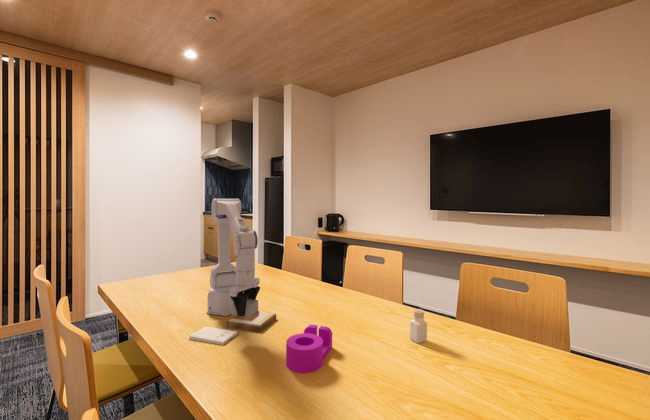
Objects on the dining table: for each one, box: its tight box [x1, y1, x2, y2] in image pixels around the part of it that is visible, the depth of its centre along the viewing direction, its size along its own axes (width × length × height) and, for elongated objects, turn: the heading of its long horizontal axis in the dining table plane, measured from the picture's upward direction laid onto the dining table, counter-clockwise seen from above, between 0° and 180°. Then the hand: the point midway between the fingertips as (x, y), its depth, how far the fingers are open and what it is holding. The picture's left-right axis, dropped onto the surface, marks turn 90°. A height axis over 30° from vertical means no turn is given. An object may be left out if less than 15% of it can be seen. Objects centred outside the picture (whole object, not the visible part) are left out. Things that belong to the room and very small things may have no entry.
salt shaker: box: [409, 308, 428, 344], centre depth 101 cm, size 4×4×10 cm
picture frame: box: [225, 311, 277, 333], centre depth 114 cm, size 13×12×2 cm
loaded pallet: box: [231, 299, 260, 321], centre depth 100 cm, size 7×5×5 cm, turn 73°
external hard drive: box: [188, 326, 239, 346], centre depth 102 cm, size 2×8×12 cm
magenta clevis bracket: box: [285, 324, 333, 374], centre depth 90 cm, size 16×10×6 cm, turn 160°
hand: (245, 312), depth 101 cm, fingers closed on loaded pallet, 5 cm apart
